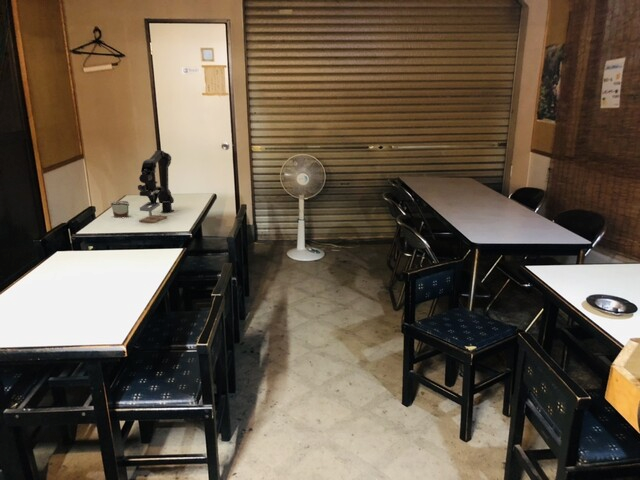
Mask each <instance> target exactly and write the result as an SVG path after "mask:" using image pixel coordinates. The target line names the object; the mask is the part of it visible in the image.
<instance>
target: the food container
mask: <svg viewBox="0 0 640 480" xmlns="http://www.w3.org/2000/svg"><path fill="white" fill-rule="evenodd" d="M110 206H111V209H112V214H113V217H114V218H122V217H124V218H125V217H126V218H127V217H128V218H129V216H130V215H129V206H130V203H129V201H126V200H118V201H117V200H115V201H113V202H110Z"/></svg>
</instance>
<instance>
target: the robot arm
mask: <svg viewBox="0 0 640 480" xmlns="http://www.w3.org/2000/svg"><path fill="white" fill-rule="evenodd" d="M157 163H158V164H159V167H160V186H159V185H157V184H158V181H157V180H156V172H157V171H156V169H157ZM171 163H172V156H171V154H169V153H167V152H165V151H164V150H155V151H154V153H153V154H152V156H151V157H150V158H148V159H145V160H144V161H143V162H142V164H141V165H142V166H141V170H140V172H141V174H140V175H139V178H138V179H139V181H140V182H141V183H142V184H144V185H142V184H139V185H137V190H138V191H139V196H140V197H147V198H148V200H149V202H151V204H152V205H153V204H154V202H157V200H158V202H159V204H161V207H162V210H161V211H160V213H171V212H174V209H172V204H173V203H174V202H175V200H174V199H175V198H174V197H173V196H172V193H171V190H170V189H169V167H170V165H171Z"/></svg>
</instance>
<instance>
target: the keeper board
mask: <svg viewBox="0 0 640 480" xmlns="http://www.w3.org/2000/svg"><path fill="white" fill-rule="evenodd" d="M152 212H153V210H152V211H151V212H150V211H148V214H149V215H148V216H146V217H144V218H141V219H139V220H138V222H139V223H147V224H149V223H150V224H155V223H157V222H158V223H159V222H160V221H163V220H165V219H167V216H166V215H155V214H153V213H152Z"/></svg>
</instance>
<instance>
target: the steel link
mask: <svg viewBox="0 0 640 480" xmlns="http://www.w3.org/2000/svg"><path fill="white" fill-rule="evenodd" d="M160 205H161V203H159V201H158V202H157V201H156V202H154V204H153V205H152V204H151V202H150V201H148V202H145V203H144V204H143V205H141V206H140V207H139V211H140V212H149V211H150V212H151V211H152V212H153V211H154V210H156V209H157V208H158V207H159V206H160Z"/></svg>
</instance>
